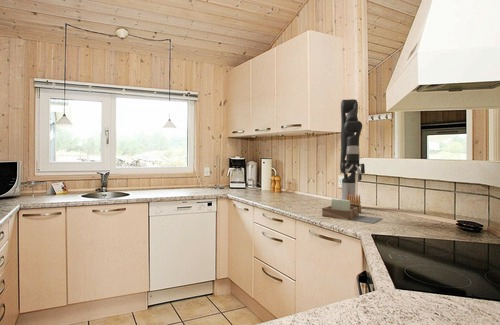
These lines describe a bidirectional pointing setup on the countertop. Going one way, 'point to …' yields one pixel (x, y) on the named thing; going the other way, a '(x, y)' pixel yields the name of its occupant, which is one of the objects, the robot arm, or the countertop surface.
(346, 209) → the pale green rectangular block
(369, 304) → the countertop surface
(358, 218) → the rubber mat
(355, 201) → the ammunition clip
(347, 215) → the walnut box
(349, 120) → the robot arm
